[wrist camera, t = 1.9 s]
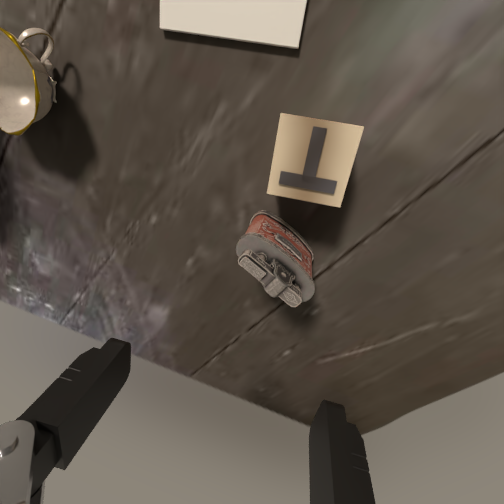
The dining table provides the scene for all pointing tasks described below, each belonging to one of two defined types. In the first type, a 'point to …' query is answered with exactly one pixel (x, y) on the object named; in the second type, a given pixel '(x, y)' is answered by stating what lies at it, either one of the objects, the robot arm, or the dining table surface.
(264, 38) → the pad
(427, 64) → the dining table surface
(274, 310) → the dining table surface
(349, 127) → the letter block
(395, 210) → the dining table surface
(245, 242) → the lighter
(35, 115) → the chinaware
